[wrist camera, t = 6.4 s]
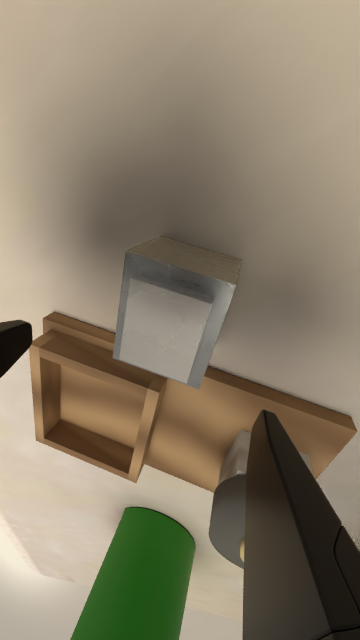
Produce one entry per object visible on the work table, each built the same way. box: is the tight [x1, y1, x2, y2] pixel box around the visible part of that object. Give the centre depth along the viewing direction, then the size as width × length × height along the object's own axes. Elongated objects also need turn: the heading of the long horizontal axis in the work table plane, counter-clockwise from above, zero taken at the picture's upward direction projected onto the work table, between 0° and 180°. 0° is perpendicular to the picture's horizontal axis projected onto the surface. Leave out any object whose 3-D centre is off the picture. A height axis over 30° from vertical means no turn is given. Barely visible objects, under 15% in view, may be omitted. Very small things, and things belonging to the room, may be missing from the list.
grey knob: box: [209, 475, 246, 569], centre depth 17 cm, size 6×6×6 cm
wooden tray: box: [29, 312, 357, 493], centre depth 20 cm, size 12×23×4 cm, turn 76°
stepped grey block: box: [113, 236, 241, 389], centre depth 14 cm, size 6×5×6 cm
